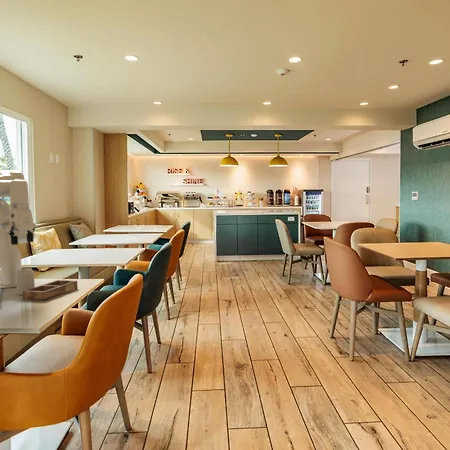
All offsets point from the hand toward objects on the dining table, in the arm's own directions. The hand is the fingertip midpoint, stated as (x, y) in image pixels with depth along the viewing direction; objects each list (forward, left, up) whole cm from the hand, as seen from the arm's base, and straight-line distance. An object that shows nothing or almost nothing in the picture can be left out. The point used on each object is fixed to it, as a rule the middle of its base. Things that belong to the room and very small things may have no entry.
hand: (22, 243), depth 169 cm
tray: (+12, +3, -25) cm, 27 cm away
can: (-1, +1, -25) cm, 25 cm away
